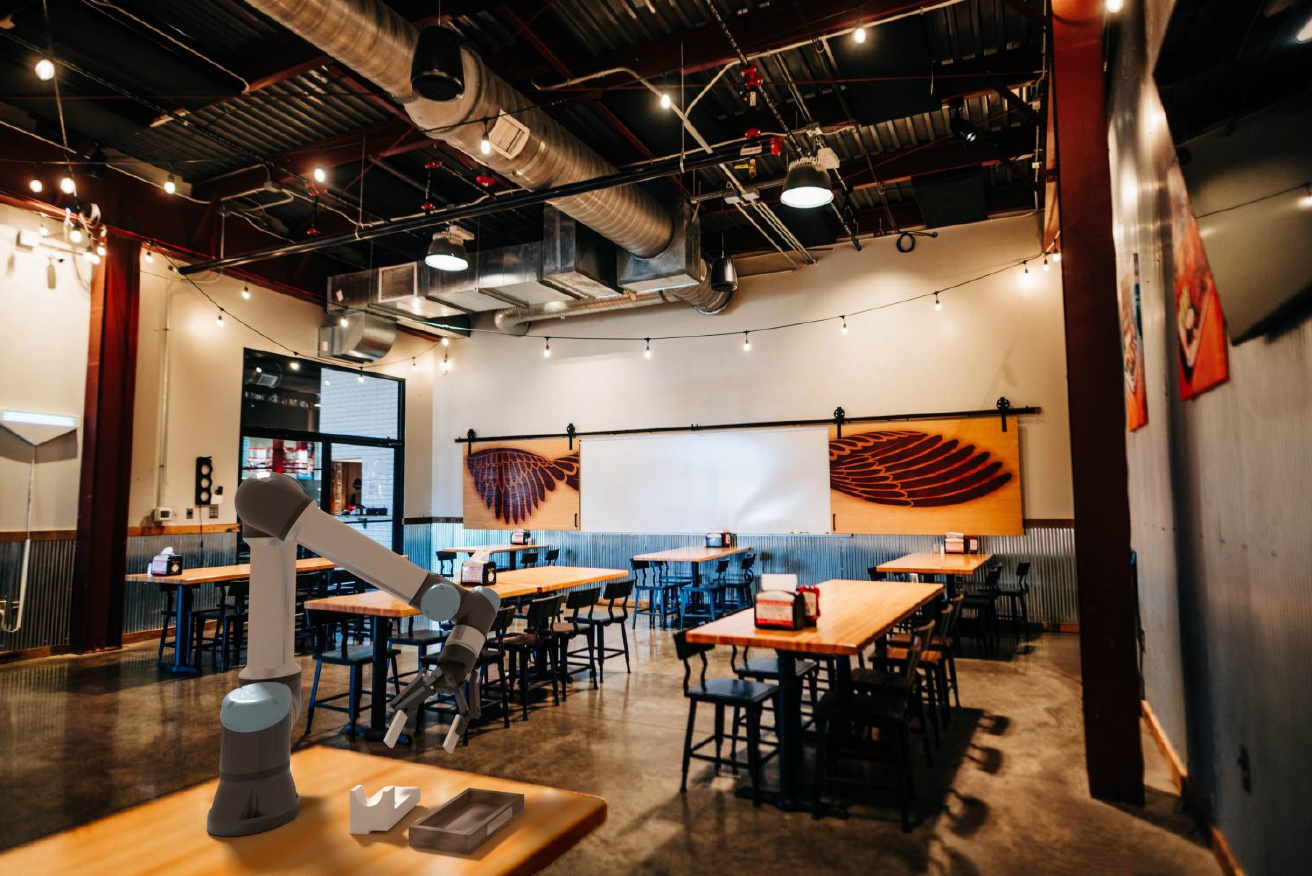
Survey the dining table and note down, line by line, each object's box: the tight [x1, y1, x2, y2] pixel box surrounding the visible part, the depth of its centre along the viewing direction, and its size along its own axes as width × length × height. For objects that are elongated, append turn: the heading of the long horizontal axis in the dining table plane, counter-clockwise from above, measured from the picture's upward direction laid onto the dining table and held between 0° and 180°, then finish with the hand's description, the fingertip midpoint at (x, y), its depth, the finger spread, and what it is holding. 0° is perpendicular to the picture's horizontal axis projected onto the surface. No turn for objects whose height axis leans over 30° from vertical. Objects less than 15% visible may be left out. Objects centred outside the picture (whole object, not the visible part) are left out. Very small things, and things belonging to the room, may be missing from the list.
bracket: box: [349, 784, 421, 835], centre depth 136 cm, size 13×7×8 cm, turn 173°
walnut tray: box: [408, 787, 525, 855], centre depth 131 cm, size 12×18×3 cm
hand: (417, 747), depth 143 cm, fingers open, 13 cm apart
